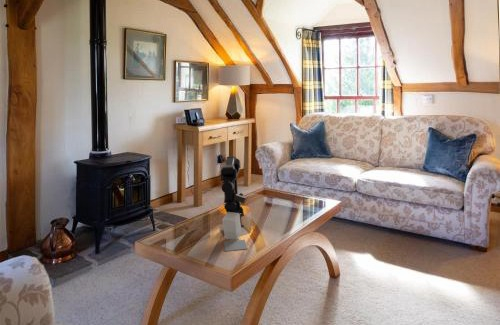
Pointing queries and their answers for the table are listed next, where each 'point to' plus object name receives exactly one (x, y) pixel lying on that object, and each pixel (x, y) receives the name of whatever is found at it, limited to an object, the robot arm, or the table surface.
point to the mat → (235, 245)
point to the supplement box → (231, 225)
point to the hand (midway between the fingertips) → (230, 218)
